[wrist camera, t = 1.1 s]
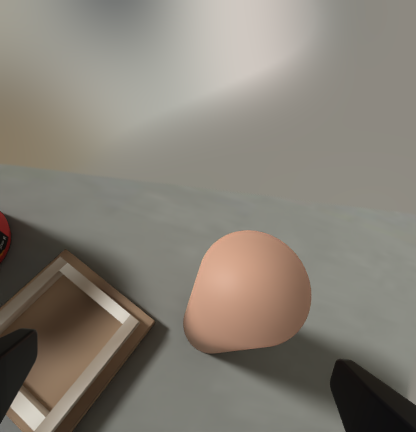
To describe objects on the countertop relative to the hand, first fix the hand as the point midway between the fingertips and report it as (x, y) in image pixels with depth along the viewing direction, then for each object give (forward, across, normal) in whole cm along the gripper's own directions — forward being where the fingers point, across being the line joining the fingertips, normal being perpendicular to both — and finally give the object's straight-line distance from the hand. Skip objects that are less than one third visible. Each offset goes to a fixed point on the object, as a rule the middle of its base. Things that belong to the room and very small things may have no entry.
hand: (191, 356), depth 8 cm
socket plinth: (+11, +9, +9) cm, 17 cm away
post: (+12, -2, +7) cm, 15 cm away
